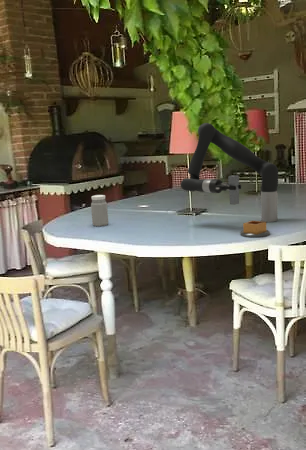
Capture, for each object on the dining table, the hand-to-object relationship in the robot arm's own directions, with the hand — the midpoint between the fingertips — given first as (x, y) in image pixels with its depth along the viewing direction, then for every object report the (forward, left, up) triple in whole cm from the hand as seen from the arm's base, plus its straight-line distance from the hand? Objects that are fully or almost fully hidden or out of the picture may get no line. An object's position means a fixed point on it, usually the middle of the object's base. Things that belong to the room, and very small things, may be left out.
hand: (238, 187), depth 280 cm
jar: (-29, -83, -24) cm, 91 cm away
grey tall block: (-2, -2, -9) cm, 9 cm away
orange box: (+9, +8, -24) cm, 27 cm away
